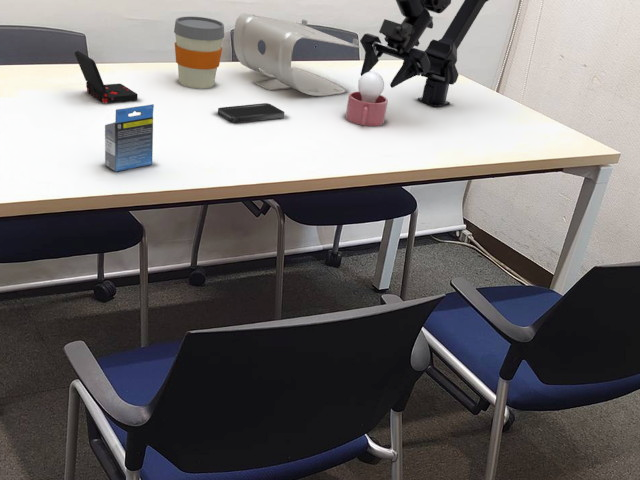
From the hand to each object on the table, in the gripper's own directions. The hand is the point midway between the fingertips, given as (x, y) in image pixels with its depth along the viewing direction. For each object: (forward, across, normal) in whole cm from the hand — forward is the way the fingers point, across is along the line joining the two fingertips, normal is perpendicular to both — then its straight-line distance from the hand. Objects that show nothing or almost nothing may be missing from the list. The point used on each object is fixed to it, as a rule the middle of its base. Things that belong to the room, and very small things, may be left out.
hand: (376, 81), depth 214 cm
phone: (+25, -16, -12) cm, 32 cm away
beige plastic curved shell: (+4, -30, +9) cm, 32 cm away
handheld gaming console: (+41, -42, -28) cm, 65 cm away
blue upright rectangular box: (+57, -5, -45) cm, 73 cm away
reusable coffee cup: (+21, -41, -8) cm, 47 cm away
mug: (+9, +1, +4) cm, 10 cm away
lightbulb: (+8, 0, +5) cm, 9 cm away
